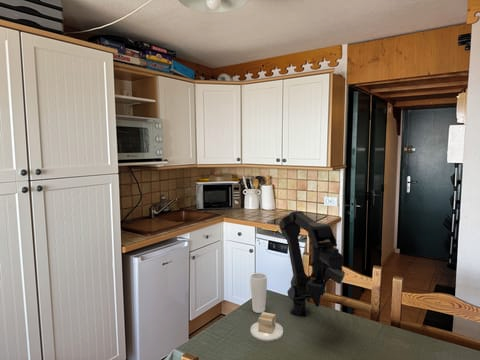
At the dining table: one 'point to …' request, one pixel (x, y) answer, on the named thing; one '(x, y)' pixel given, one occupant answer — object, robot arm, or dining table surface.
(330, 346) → the dining table surface
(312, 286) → the robot arm
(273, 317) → the oak block
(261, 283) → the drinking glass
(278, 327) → the plate
